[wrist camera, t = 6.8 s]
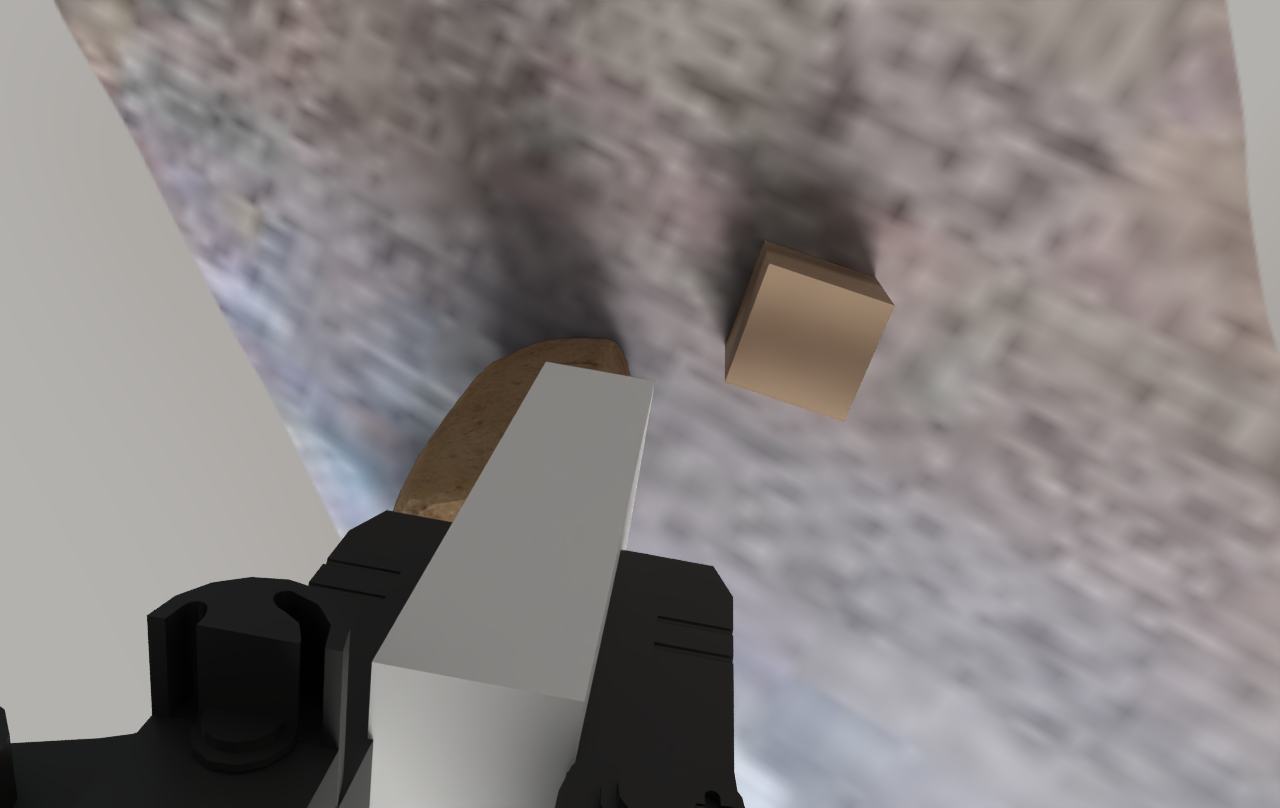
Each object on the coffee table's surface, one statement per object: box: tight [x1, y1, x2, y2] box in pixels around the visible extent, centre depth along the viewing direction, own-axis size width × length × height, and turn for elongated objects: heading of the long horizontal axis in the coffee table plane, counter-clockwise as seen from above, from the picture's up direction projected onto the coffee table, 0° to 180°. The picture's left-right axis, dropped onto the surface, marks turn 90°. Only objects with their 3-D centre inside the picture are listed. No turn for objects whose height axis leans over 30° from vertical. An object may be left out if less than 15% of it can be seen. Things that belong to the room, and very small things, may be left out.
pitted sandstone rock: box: [393, 338, 630, 522], centre depth 42 cm, size 11×8×20 cm
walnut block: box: [725, 240, 894, 422], centre depth 46 cm, size 6×6×6 cm
